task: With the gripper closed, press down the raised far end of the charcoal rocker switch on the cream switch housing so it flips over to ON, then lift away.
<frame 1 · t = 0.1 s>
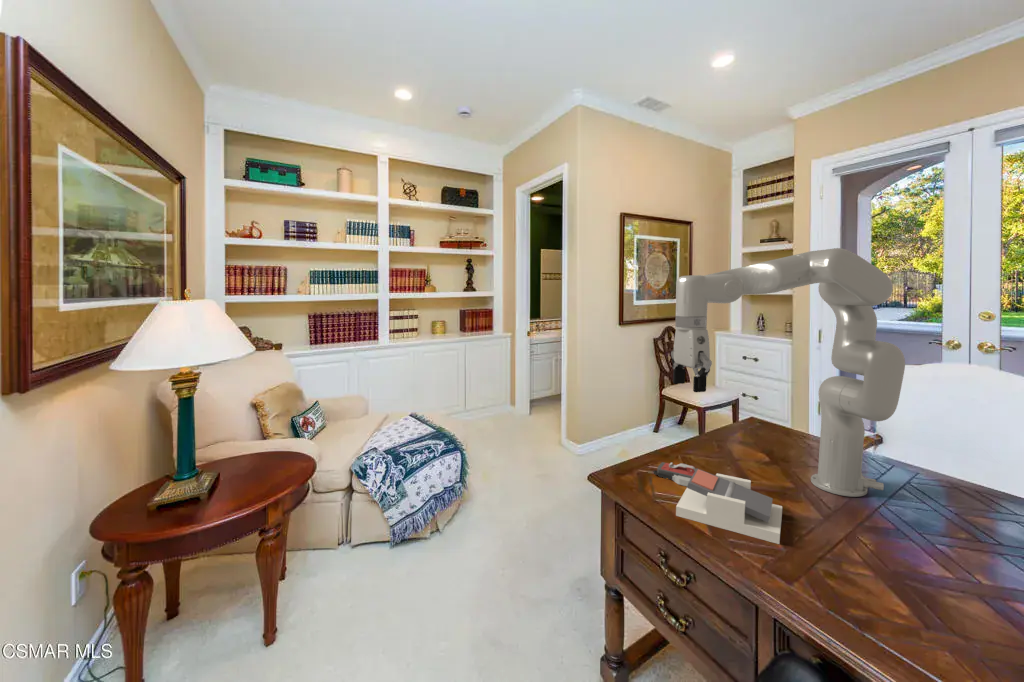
hand: (688, 387, 109), 31 cm above the table, tool pointing down, fingers open, 9 cm apart
rocker: (729, 492, 103), point 6 cm above the table, hinge at -12.0°
switch housing: (728, 515, 103), on the table
walkie-talkie: (688, 482, 123), on the table
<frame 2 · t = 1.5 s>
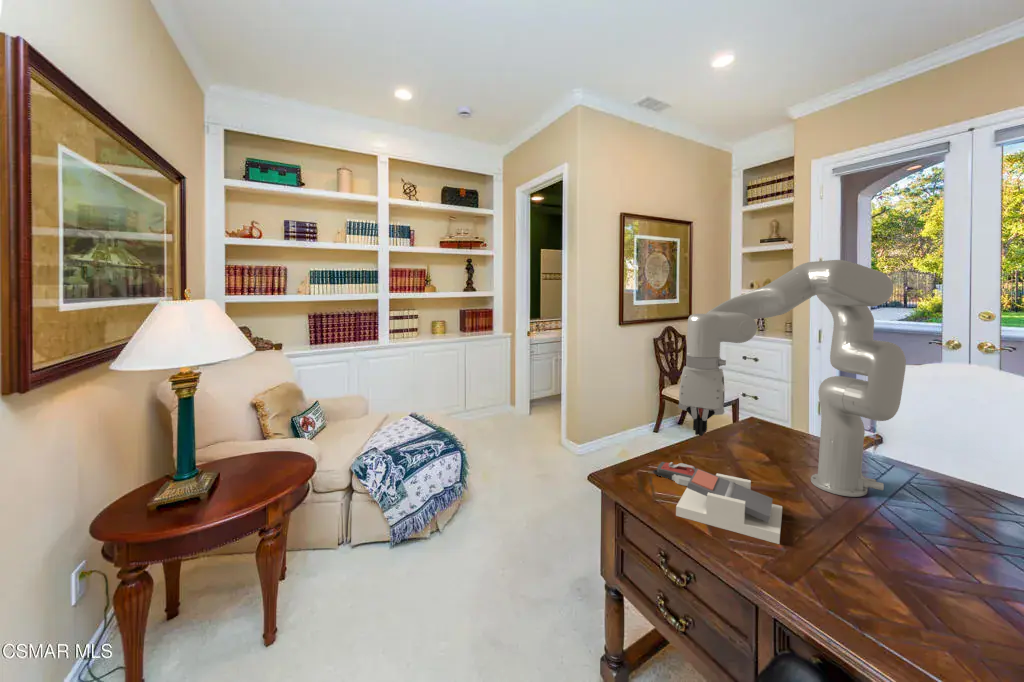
hand: (699, 433, 105), 20 cm above the table, tool pointing down, fingers closed
nothing on the table moved.
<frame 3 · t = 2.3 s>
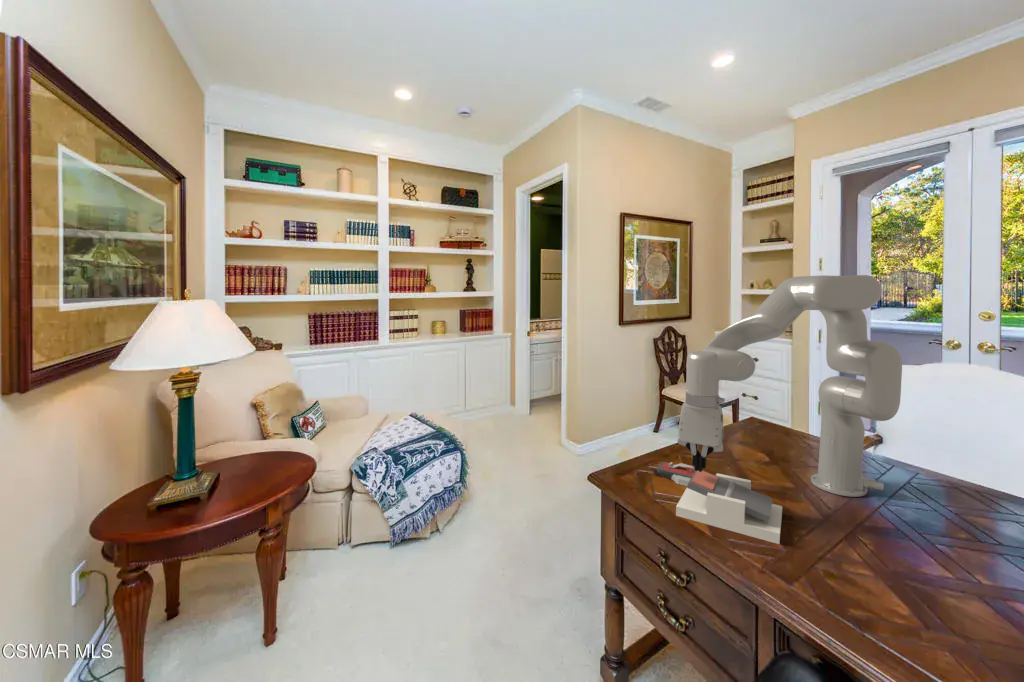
hand: (699, 469, 106), 11 cm above the table, tool pointing down, fingers closed
nothing on the table moved.
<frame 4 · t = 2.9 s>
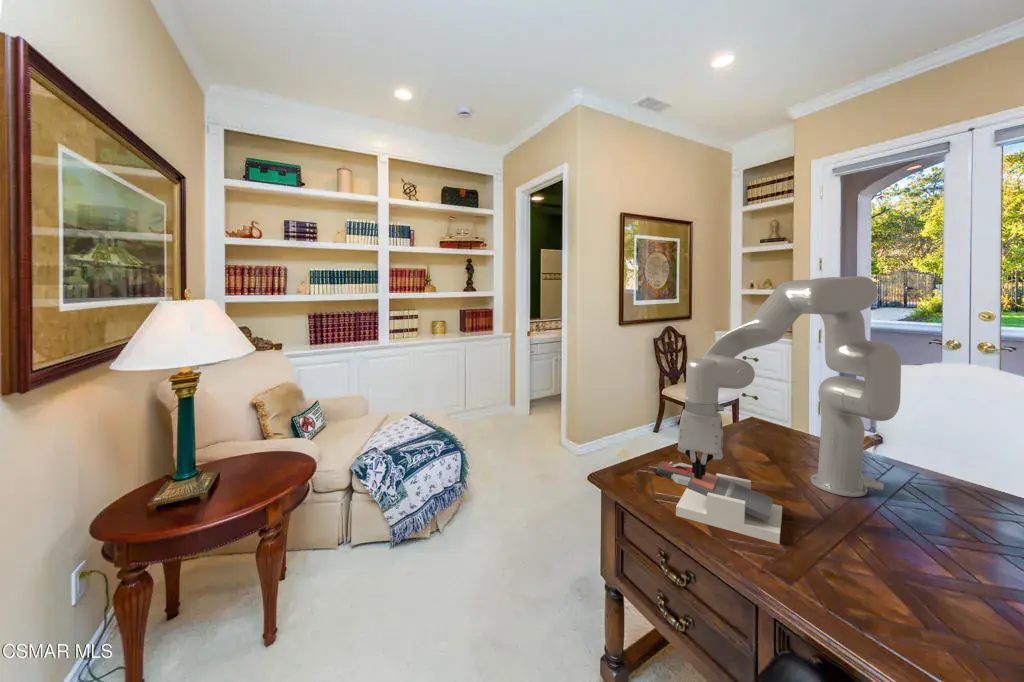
hand: (698, 476, 106), 9 cm above the table, tool pointing down, fingers closed
rocker: (729, 492, 103), point 6 cm above the table, hinge at -11.6°, touching gripper
everything else where it was.
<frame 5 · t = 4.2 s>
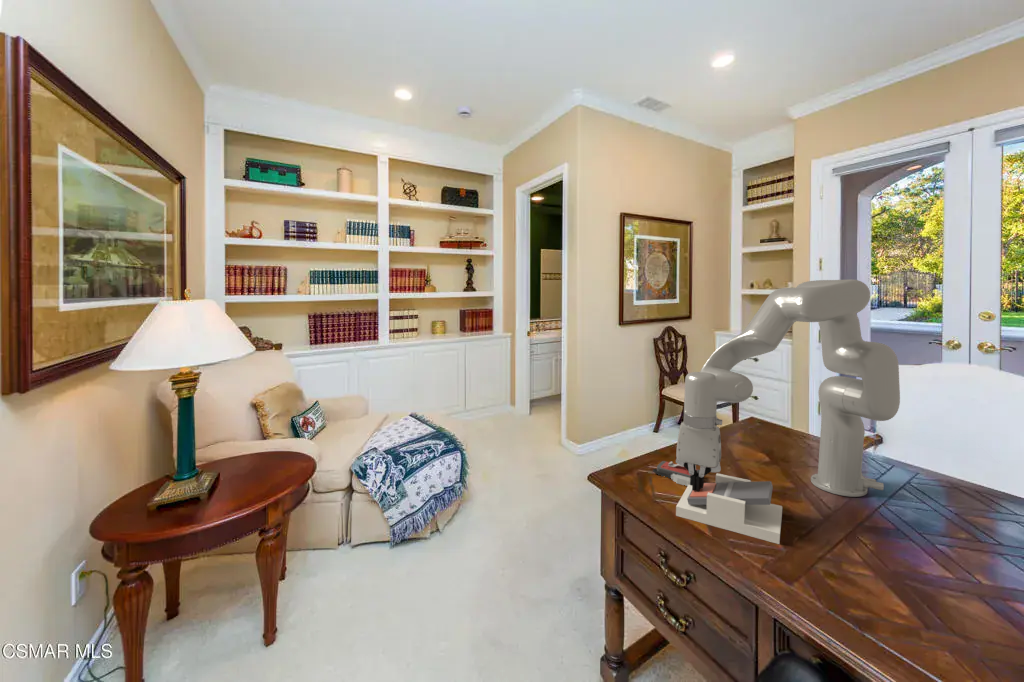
hand: (696, 488, 107), 5 cm above the table, tool pointing down, fingers closed
rocker: (729, 492, 103), point 6 cm above the table, hinge at 16.1°, touching gripper
everything else where it was.
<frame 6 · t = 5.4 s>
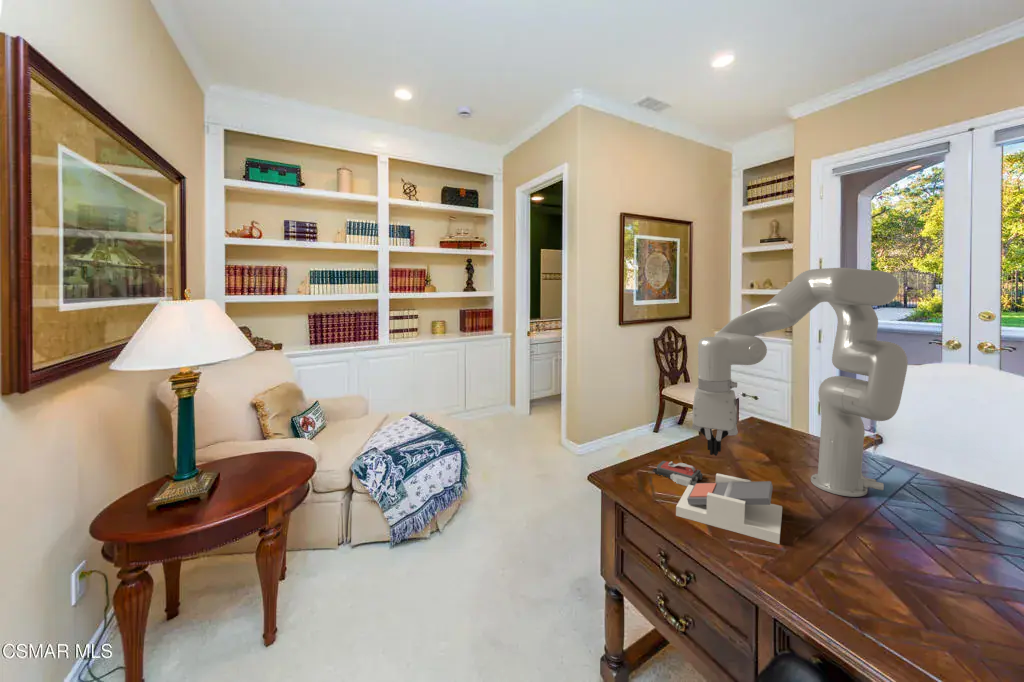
hand: (714, 453, 108), 14 cm above the table, tool pointing down, fingers closed
rocker: (729, 492, 103), point 6 cm above the table, hinge at 16.1°
everything else where it was.
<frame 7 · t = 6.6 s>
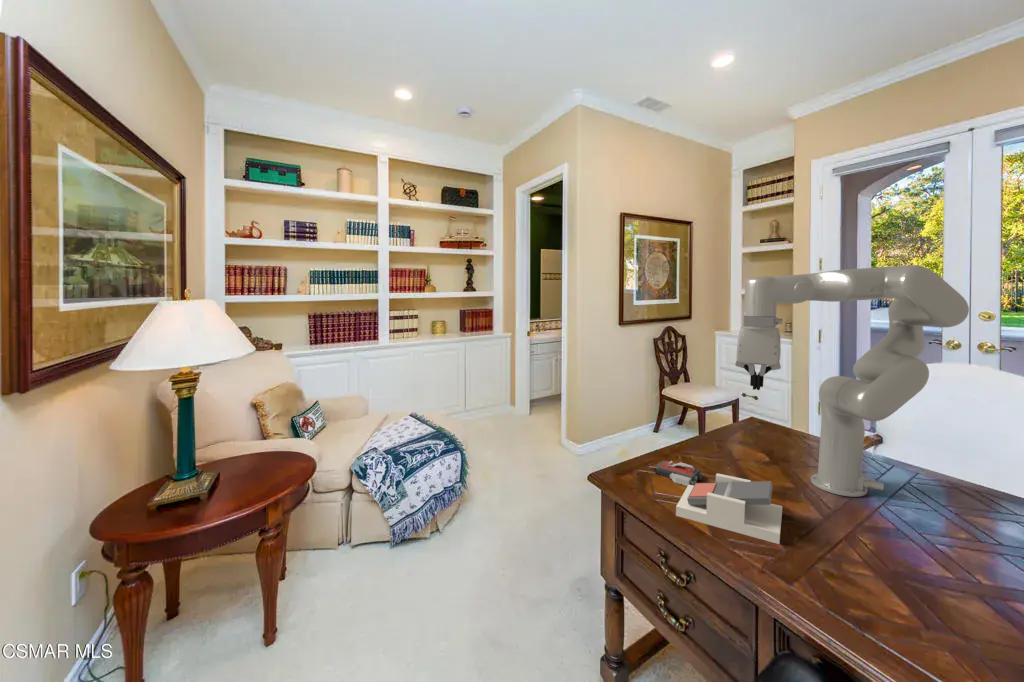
hand: (756, 388, 113), 29 cm above the table, tool pointing down, fingers closed
nothing on the table moved.
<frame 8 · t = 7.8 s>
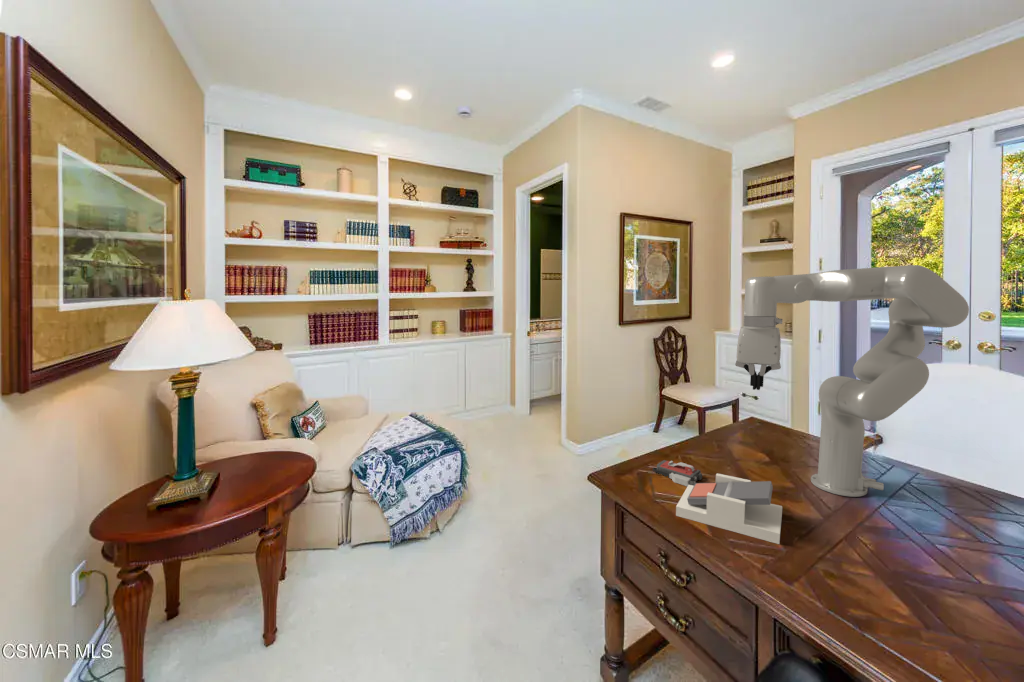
hand: (756, 388, 113), 29 cm above the table, tool pointing down, fingers closed
nothing on the table moved.
at the end: rocker at +16° (first picture: -12°); walkie-talkie moved 1.0 cm from its start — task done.
